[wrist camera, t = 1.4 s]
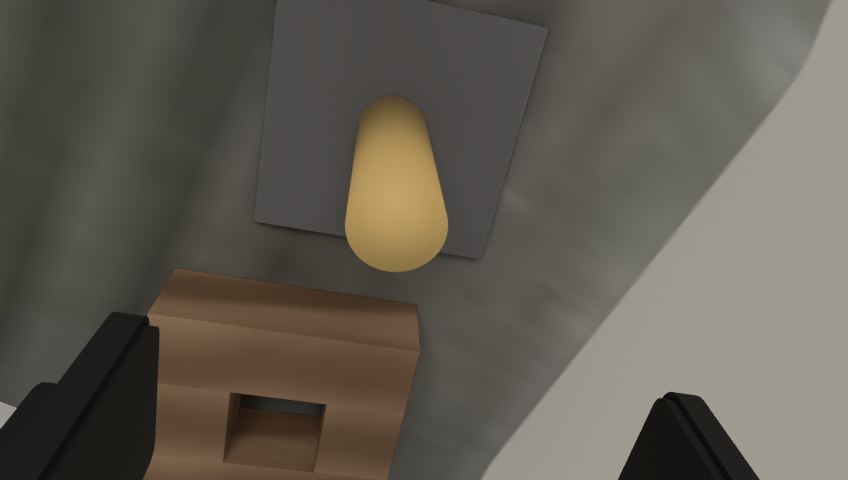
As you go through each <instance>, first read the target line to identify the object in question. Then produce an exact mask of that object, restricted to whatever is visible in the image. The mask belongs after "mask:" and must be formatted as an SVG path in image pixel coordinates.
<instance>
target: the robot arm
mask: <svg viewBox="0 0 848 480" xmlns="http://www.w3.org/2000/svg"><path fill="white" fill-rule="evenodd" d="M159 338H160V330H159V327H158V326H151V325H150V321H149V318H148V317H147V316H140V315H134V314H127V313H120V312H112V313H111V314H110V315H109V316H108V317H107V319H106V320H105V321H104V322H103V324H102V325H101V326H100V328H99V329H98V330H97V332H96V333H95V334H94V336H93V337H92V338H91V340H90V341H89V342H88V344H87V345H86V346H85V348H84V349H83V350H82V352H81V353H80V354H79V356H78V357H77V358H76V360H75V361H74V362H73V363H72V365H71V366H70V367H69V369H68V370H67V371H66V373H65V374H64V375H63V377H62V378H61V379H60V381H59V382H58V383H57V384H55V383H47V382H42V383H40V384H38V385H36V386H35V387H34V388H33V389H32V390H31V391H30V392H29V394H28V395H27V396H26V397H25V399H24V400H23V401H22V402H21V404H20V405H19V406H18V407H17V409H16V410H15V411H14V412H13V414H12V415H11V416H10V417H9V419H8V420H7V421H6V422H5V424H4V425H3V426H2V427H1V429H0V480H143V478H144V476H145V473H146V471H147V469H148V467H149V465H150V462H151V459H152V456H153V452H154V447H155V435H156V411H157V387H158V362H159ZM618 480H759V478H758V477H757V475H756V474H755V473H754V471H753V470H752V469H751V467H750V465H749V464H748V463H747V461H746V460H745V458H744V457H743V456H742V454H741V453H740V451H739V450H738V448H737V447H736V446H735V444H734V443H733V441H732V440H731V438H730V437H729V436H728V434H727V433H726V431H725V430H724V429H723V427H722V426H721V424H720V423H719V421H718V420H717V419H716V417H715V416H714V414H713V413H712V412H711V411H710V409H709V407H708V406H707V404H706V403H705V402H704V400H703V399H702V398H701V397H699V396H696V395H689V394H682V393H675V392H669V393H667V394H665V395H664V396H663V398H659V399H657V400H656V401H655V403H654V404H653V406H652V409H651V411H650V413H649V415H648V417H647V419H646V422H645V423H644V426H643V428H642V430H641V432H640V434H639V436H638V438H637V440H636V442H635V445H634V447H633V449H632V451H631V453H630V456H629V457H628V460H627V462H626V464H625V466H624V468H623V470H622V472H621V474H620V477H619V479H618Z"/></svg>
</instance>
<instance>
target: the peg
mask: <svg viewBox="0 0 848 480" xmlns="http://www.w3.org/2000/svg"><path fill="white" fill-rule="evenodd" d="M345 232H346V237H347V240H348V243H349V245H350V247H351V248H352V250H353V251H354V253H355V254H356V255H357V256H358V257H359V258H360V259H361V260H362V261H364V262H365V263H367V264H368V265H370V266H372V267H374V268H376V269H379V270H383V271H388V272H404V271H409V270H413V269H416V268H419V267H421V266H423V265H425V264H426V263H427V262H429V261H430V260H431V259H433V258H434V257H435V256H436V255H437V253H438V252H439V251H440V249H441V248H442V246H443V244H444V242H445V240H446V237H447V232H448V218H447V213H446V209H445V205H444V200H443V196H442V191H441V187H440V183H439V178H438V174H437V169H436V165H435V161H434V156H433V152H432V147H431V143H430V139H429V134H428V130H427V125H426V121H425V118H424V116H423V114H422V112H421V111H420V109H419V108H418V107H417V106H416V105H415V104H413V103H412V102H411V101H409V100H407V99H404V98H401V97H396V96H389V97H383V98H380V99H378V100H376V101H374V102H372V103H371V104H370V105H369V106H368V107H367V108H366V109H365V110H364V112H363V113H362V115H361V118H360V120H359V125H358V132H357V139H356V147H355V154H354V161H353V169H352V176H351V183H350V190H349V198H348V205H347V212H346V220H345Z"/></svg>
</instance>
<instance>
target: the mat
mask: <svg viewBox="0 0 848 480" xmlns="http://www.w3.org/2000/svg"><path fill="white" fill-rule="evenodd" d="M548 30H549V28H547V27H544V26H540V25H536V24H531V23H527V22H522V21H518V20H514V19H509V18H505V17H501V16H496V15H492V14H487V13H483V12H479V11H474V10H470V9H466V8H461V7H457V6H452V5H448V4H444V3H439V2H435V1H431V0H276V9H275V19H274V28H273V38H272V47H271V57H270V66H269V76H268V85H267V95H266V104H265V114H264V123H263V133H262V143H261V152H260V162H259V171H258V181H257V190H256V200H255V209H254V219H253V221H254V222H260V223H266V224H272V225H278V226H284V227H290V228H296V229H302V230H308V231H314V232H320V233H326V234H332V235H338V236H344V237H346V232H345V220H346V212H347V205H348V198H349V190H350V183H351V176H352V169H353V161H354V154H355V147H356V139H357V132H358V125H359V120H360V118H361V115H362V113H363V112H364V110H365V109H366V108H367V107H368V106H369V105H370V104H371V103H372V102H374V101H376V100H378V99H380V98H383V97H389V96H396V97H401V98H404V99H407V100H409V101H411V102H412V103H413V104H415V105H416V106H417V107H418V108H419V109H420V111H421V112H422V114H423V116H424V118H425V121H426V125H427V130H428V134H429V139H430V143H431V147H432V152H433V156H434V161H435V165H436V169H437V174H438V178H439V183H440V187H441V191H442V196H443V200H444V205H445V209H446V213H447V218H448V232H447V237H446V240H445V242H444V244H443V246H442V248H441V249H440V251H439V252H440V253H446V254H452V255H458V256H464V257H470V258H476V259H482V256H483V253H484V249H485V246H486V242H487V239H488V235H489V232H490V229H491V225H492V222H493V218H494V215H495V211H496V208H497V205H498V201H499V198H500V194H501V191H502V187H503V184H504V181H505V177H506V174H507V170H508V167H509V163H510V160H511V157H512V153H513V150H514V146H515V143H516V139H517V136H518V133H519V129H520V126H521V122H522V119H523V115H524V112H525V109H526V105H527V102H528V98H529V95H530V91H531V88H532V85H533V81H534V78H535V74H536V71H537V67H538V64H539V61H540V57H541V54H542V50H543V47H544V43H545V40H546V37H547V33H548Z"/></svg>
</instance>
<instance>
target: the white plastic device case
mask: <svg viewBox="0 0 848 480" xmlns="http://www.w3.org/2000/svg"><path fill="white" fill-rule="evenodd" d="M16 409H17V408H16V407H13V406H11V405H8V404H5V403H3V402H0V429H1V427H2V426H3V425H4V424H5V422H6V421H7V420H8V419H9V417H10V416H11V415H12V414H13V412H14V411H15V410H16Z"/></svg>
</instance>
